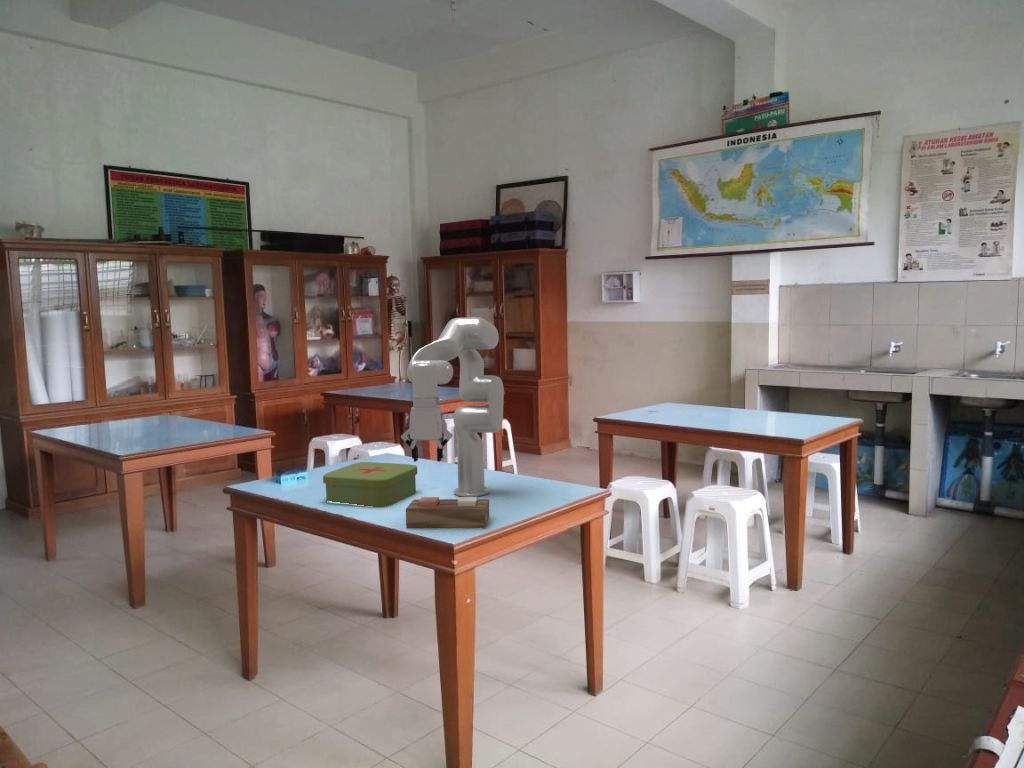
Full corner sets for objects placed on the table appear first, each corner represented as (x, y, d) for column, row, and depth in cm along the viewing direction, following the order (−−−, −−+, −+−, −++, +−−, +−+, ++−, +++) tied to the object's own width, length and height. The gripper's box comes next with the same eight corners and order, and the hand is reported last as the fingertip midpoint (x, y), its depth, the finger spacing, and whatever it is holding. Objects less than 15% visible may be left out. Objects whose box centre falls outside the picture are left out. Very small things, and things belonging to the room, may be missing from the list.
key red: (422, 511, 237) (421, 497, 237) (439, 511, 237) (439, 497, 236) (418, 515, 232) (418, 501, 231) (436, 515, 231) (435, 501, 231)
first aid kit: (360, 487, 287) (359, 461, 286) (422, 491, 278) (421, 464, 277) (319, 504, 263) (318, 475, 262) (385, 509, 253) (384, 480, 252)
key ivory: (460, 511, 236) (460, 497, 236) (477, 511, 236) (477, 496, 235) (457, 515, 231) (457, 501, 230) (475, 515, 230) (475, 501, 230)
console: (414, 517, 241) (413, 499, 240) (489, 517, 239) (489, 499, 238) (406, 528, 229) (405, 509, 228) (485, 528, 227) (484, 508, 226)
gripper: (455, 401, 234) (457, 458, 236) (400, 401, 235) (402, 458, 237) (452, 404, 226) (453, 463, 228) (394, 404, 228) (397, 463, 229)
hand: (427, 460), depth 232 cm, fingers open, 6 cm apart
